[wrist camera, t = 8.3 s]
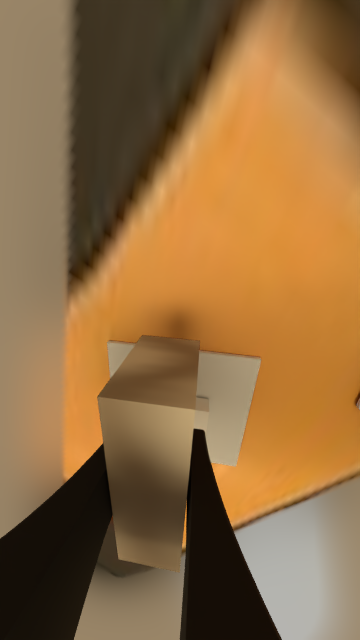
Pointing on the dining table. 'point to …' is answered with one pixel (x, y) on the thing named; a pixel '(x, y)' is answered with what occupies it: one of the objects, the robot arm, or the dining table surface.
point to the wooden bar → (150, 447)
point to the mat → (215, 396)
